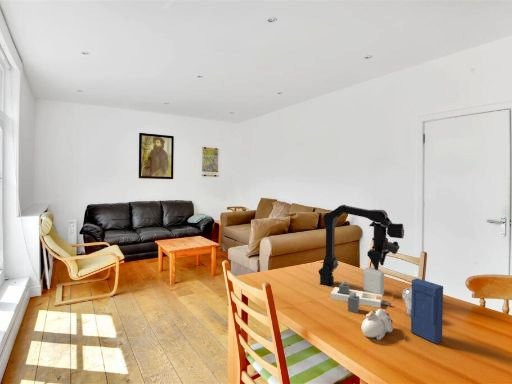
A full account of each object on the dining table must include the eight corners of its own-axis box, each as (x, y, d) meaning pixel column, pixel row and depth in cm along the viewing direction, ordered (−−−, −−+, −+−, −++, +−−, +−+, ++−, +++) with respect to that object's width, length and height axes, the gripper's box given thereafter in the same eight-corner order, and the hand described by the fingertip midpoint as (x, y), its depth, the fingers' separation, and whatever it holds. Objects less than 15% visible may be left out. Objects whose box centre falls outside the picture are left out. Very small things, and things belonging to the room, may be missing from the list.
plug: (348, 311, 125) (348, 294, 124) (349, 307, 128) (349, 291, 128) (357, 313, 123) (357, 296, 122) (359, 309, 126) (359, 292, 126)
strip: (330, 299, 138) (330, 292, 138) (335, 293, 146) (335, 285, 146) (390, 311, 125) (390, 302, 125) (391, 303, 133) (391, 295, 133)
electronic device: (443, 340, 103) (444, 285, 102) (435, 344, 100) (436, 288, 99) (417, 328, 111) (418, 277, 110) (409, 332, 108) (410, 280, 107)
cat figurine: (366, 316, 102) (388, 300, 111) (350, 319, 108) (372, 304, 117) (380, 344, 99) (402, 325, 108) (363, 346, 105) (385, 328, 114)
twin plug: (339, 298, 138) (339, 282, 138) (341, 294, 142) (341, 279, 142) (347, 299, 136) (347, 283, 136) (349, 296, 140) (349, 281, 140)
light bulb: (418, 313, 123) (419, 285, 123) (422, 321, 117) (422, 292, 116) (400, 311, 126) (401, 284, 125) (403, 318, 119) (403, 290, 118)
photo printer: (361, 290, 149) (362, 267, 148) (366, 288, 151) (366, 265, 151) (381, 296, 141) (381, 271, 140) (385, 294, 143) (385, 270, 143)
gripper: (392, 241, 127) (392, 276, 128) (402, 234, 142) (401, 265, 143) (367, 238, 134) (366, 271, 135) (378, 232, 149) (378, 261, 150)
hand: (379, 267), depth 141 cm, fingers open, 9 cm apart
